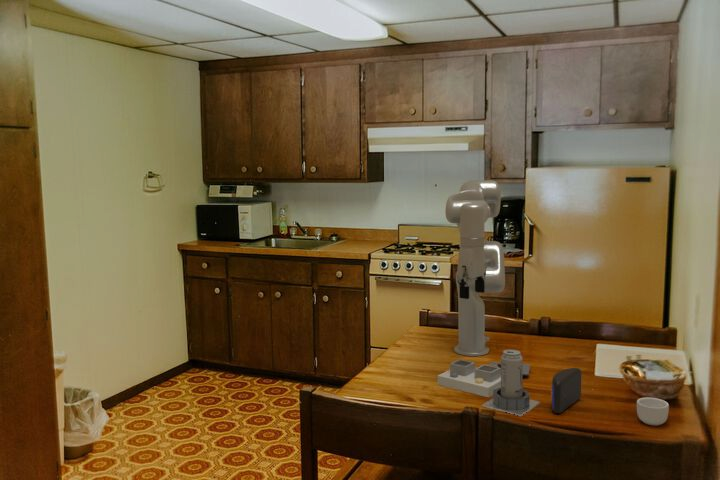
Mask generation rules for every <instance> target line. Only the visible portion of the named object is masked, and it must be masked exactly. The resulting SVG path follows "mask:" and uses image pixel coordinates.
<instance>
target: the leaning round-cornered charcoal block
mask: <svg viewBox="0 0 720 480" xmlns="http://www.w3.org/2000/svg"><path fill="white" fill-rule="evenodd" d="M551 382H552V383H551V387H552V388H551V389H552V390H551V392H550V394H551V409H552V411H553V412H554V413H556V414H561V413H563V412H564V411H565V410H566V409H568V408H569V407H570V406H572V405H573V404H574V403H575V402H577V401H578V400H579V399H580V398H581V395H582V370H581V369H580V368H579V367H571V368H567V369H563V370H559V371H558V372H557V373H555V374H554V375H553V377H552V381H551Z"/></svg>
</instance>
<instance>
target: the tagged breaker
mask: <svg viewBox="0 0 720 480" xmlns="http://www.w3.org/2000/svg"><path fill="white" fill-rule="evenodd" d="M495 369H496V368H491V367H487V366H484V367H482V368H480V369H479V370H484V371H488V372H492V371H493V370H495Z"/></svg>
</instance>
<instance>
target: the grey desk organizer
mask: <svg viewBox="0 0 720 480" xmlns="http://www.w3.org/2000/svg"><path fill="white" fill-rule="evenodd" d="M484 366H487V367H491V368H496V369H495V370H493V371H492V372H488V371H484V370H479V369H480V368H482V367H484ZM437 385H438V386H441V387H445V388H449V389H453V390H457V391H460V392H465V393H467V394H468V393H469V394H473V395H476V396H480V397H485V398H490V397H493V391H494V390H495V389H497V388H501V368H498V366H494V365H489V364H482V365H480V366H478V367H476V362H474V361H469V360H465V359H457V360H454V361H452V362H450V363H449V370H446V371H445V372H443V373H440V374H438V375H437Z"/></svg>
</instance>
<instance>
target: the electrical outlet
mask: <svg viewBox="0 0 720 480" xmlns="http://www.w3.org/2000/svg"><path fill="white" fill-rule="evenodd" d="M488 365H494V366H498V368H501V361H490V362H489V364H488ZM530 367H531V364H530V363H523V377H528V376H529V375H530V369H531V368H530Z"/></svg>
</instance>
